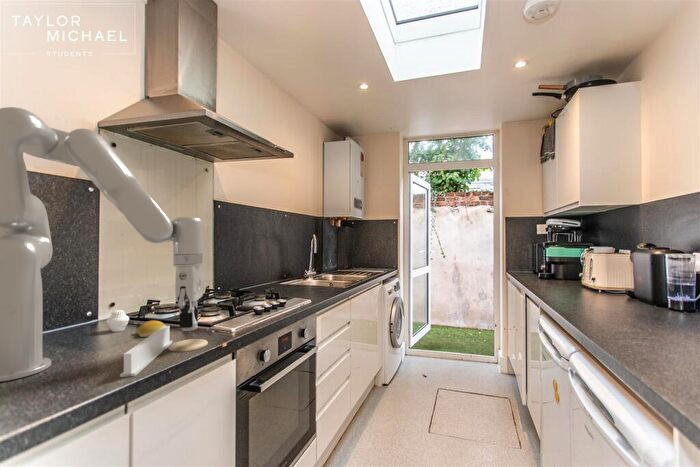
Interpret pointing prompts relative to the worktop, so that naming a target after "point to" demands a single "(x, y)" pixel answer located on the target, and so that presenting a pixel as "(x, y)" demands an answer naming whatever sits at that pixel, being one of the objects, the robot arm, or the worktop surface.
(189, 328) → the rook chess piece
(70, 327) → the worktop surface
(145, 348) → the divider wall
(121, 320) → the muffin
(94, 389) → the worktop surface
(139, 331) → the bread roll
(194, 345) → the cork coaster
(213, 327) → the worktop surface
